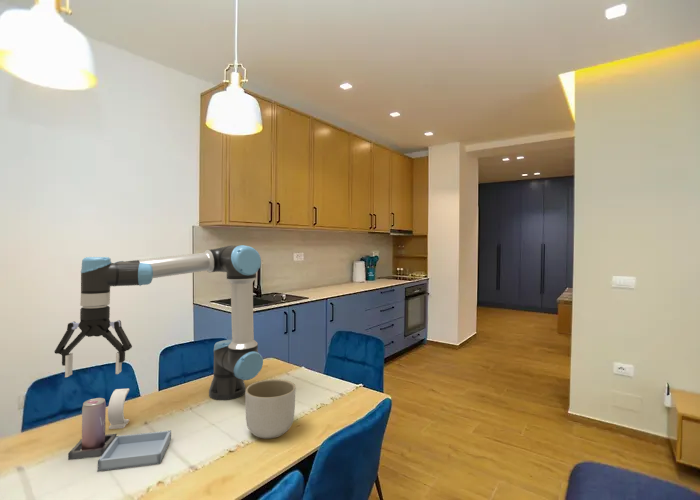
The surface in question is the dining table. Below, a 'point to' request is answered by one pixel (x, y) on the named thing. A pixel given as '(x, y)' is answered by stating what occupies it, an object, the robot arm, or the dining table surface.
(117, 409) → the white curved strip
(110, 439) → the socket collar
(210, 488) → the dining table surface
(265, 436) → the planter
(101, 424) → the beverage can
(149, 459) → the tray
